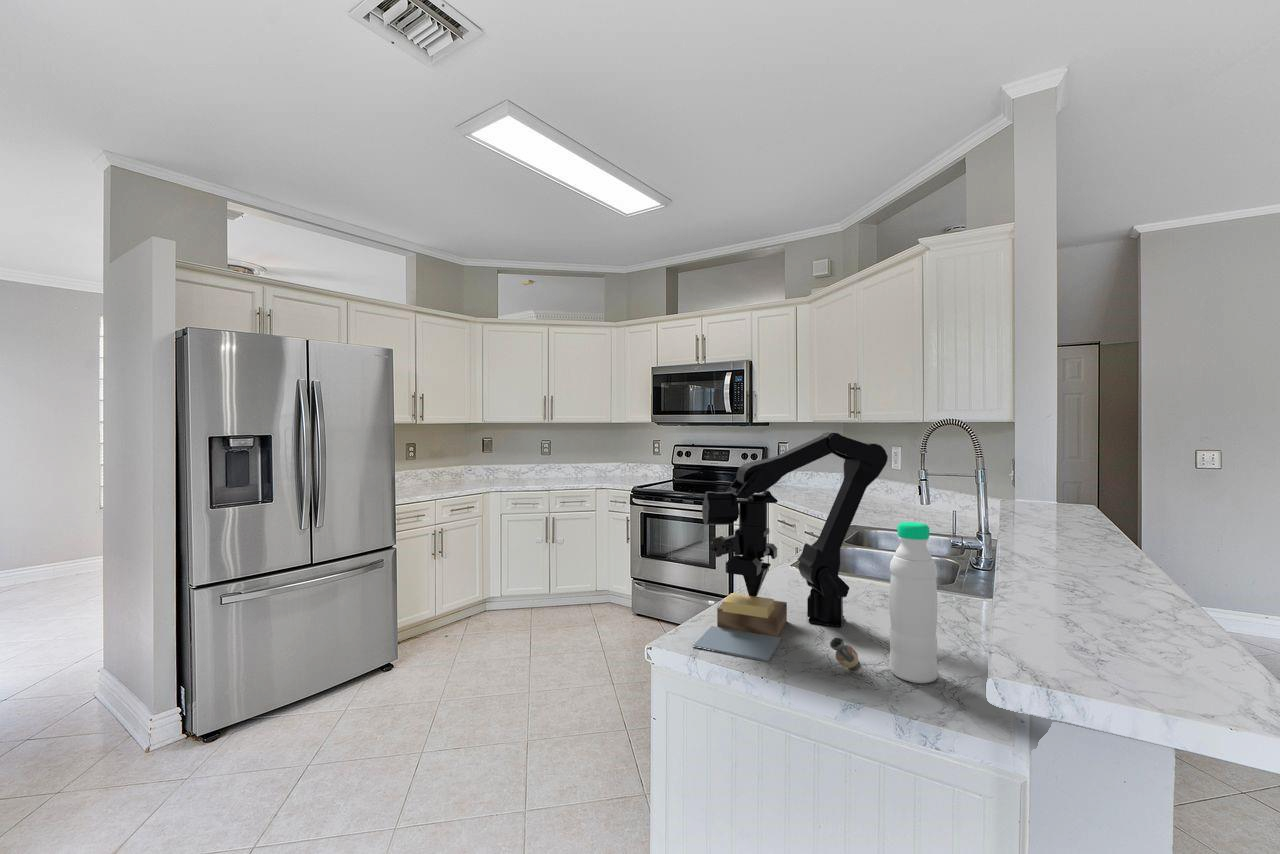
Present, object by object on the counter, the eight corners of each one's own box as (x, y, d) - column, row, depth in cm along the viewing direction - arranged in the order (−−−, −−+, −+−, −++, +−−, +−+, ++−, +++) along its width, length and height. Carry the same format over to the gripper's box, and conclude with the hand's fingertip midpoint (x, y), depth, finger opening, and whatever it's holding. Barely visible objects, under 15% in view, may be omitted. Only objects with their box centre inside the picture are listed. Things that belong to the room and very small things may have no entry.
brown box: (786, 621, 114) (786, 602, 114) (776, 637, 105) (776, 617, 105) (731, 612, 119) (731, 594, 119) (717, 627, 110) (717, 608, 110)
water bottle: (881, 666, 93) (881, 520, 93) (920, 664, 93) (920, 519, 93) (904, 686, 86) (904, 527, 86) (947, 684, 86) (947, 527, 86)
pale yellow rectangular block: (774, 608, 110) (774, 599, 110) (767, 618, 104) (767, 607, 104) (730, 602, 114) (730, 593, 114) (722, 611, 108) (722, 601, 108)
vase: (840, 682, 87) (838, 644, 87) (823, 670, 92) (821, 634, 93) (871, 679, 88) (868, 641, 88) (851, 667, 93) (849, 631, 94)
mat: (781, 639, 104) (781, 637, 104) (768, 661, 94) (768, 659, 94) (711, 627, 110) (711, 625, 110) (692, 647, 100) (692, 645, 100)
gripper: (728, 514, 125) (728, 582, 125) (700, 528, 108) (700, 606, 108) (777, 518, 120) (777, 589, 120) (756, 533, 103) (755, 615, 103)
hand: (752, 599), depth 113 cm, fingers closed
